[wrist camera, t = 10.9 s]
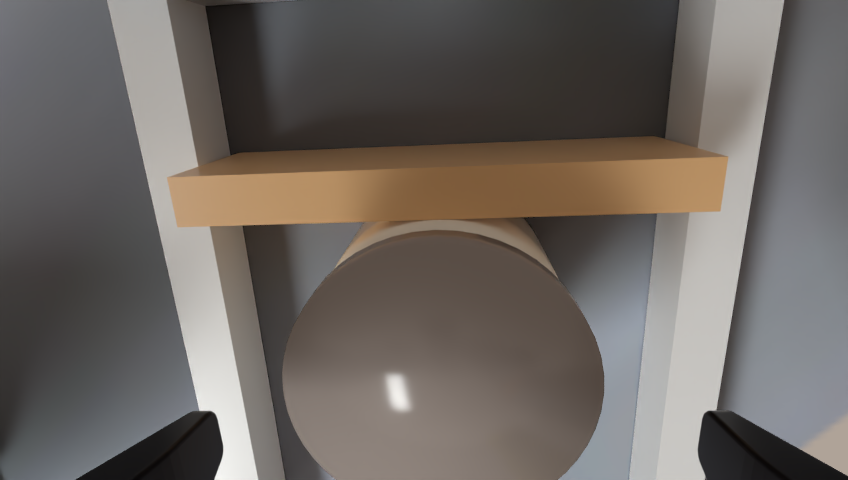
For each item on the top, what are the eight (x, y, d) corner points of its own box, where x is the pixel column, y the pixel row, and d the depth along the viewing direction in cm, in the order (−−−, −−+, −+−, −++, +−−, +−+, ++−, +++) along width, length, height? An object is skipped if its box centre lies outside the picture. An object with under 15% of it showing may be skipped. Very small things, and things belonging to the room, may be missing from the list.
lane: (260, 542, 20) (215, 650, 16) (138, -72, 13) (10, -134, 9) (661, 549, 19) (713, 667, 15) (753, -118, 12) (890, -208, 8)
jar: (352, 372, 17) (303, 515, 12) (332, 184, 15) (259, 247, 10) (546, 370, 17) (593, 520, 11) (553, 176, 15) (616, 237, 9)
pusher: (245, 190, 15) (177, 227, 12) (239, 152, 15) (166, 177, 11) (650, 177, 14) (720, 211, 11) (654, 136, 14) (728, 156, 10)
